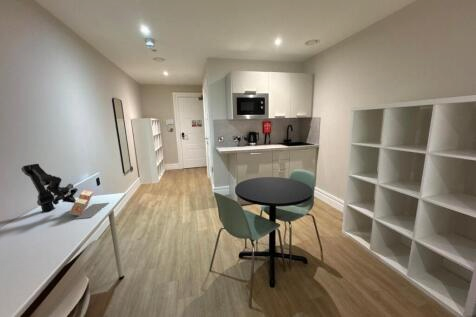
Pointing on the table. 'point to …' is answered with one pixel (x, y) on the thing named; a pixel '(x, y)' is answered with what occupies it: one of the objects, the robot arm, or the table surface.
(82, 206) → the stack of blocks
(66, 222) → the table surface
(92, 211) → the mat
